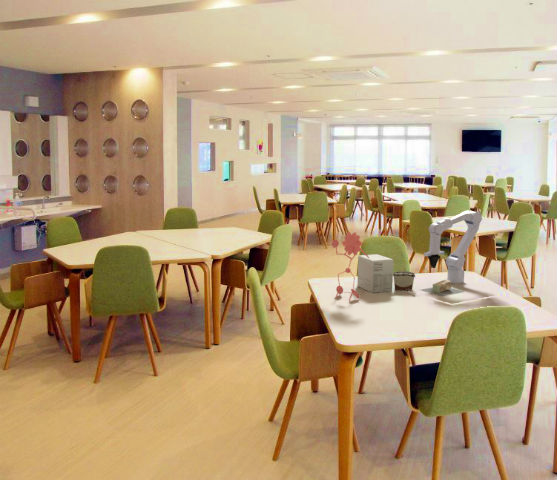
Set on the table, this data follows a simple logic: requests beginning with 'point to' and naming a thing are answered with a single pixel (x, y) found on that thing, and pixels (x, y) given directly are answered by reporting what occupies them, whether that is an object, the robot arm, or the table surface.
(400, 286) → the food container
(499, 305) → the table surface
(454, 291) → the mat
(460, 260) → the robot arm
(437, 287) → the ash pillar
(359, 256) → the supplement box
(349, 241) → the figurine
